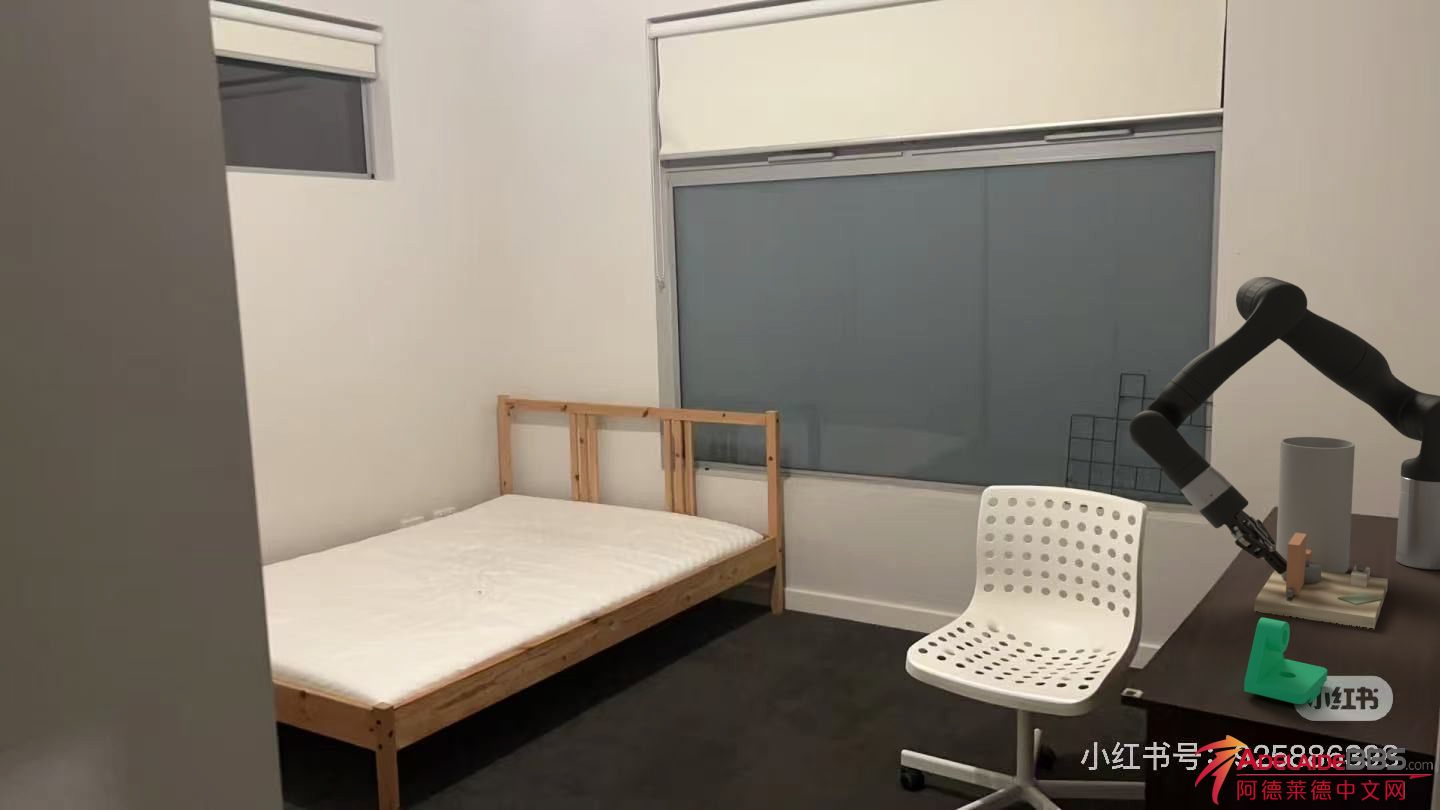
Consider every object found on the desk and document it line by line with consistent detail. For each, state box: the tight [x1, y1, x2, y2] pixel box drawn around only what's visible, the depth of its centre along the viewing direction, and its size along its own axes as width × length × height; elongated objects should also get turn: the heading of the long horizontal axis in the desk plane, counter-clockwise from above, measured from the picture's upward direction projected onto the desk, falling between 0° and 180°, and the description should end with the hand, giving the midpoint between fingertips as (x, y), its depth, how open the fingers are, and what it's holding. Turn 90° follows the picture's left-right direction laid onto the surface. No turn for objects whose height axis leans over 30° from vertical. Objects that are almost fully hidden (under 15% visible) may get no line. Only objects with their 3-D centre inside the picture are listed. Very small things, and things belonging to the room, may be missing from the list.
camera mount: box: [1243, 616, 1328, 705], centre depth 156 cm, size 12×8×10 cm, turn 136°
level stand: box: [1253, 561, 1389, 630], centre depth 193 cm, size 24×18×6 cm
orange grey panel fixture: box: [1281, 533, 1322, 598], centre depth 195 cm, size 19×6×9 cm, turn 144°
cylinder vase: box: [1275, 436, 1356, 574], centre depth 210 cm, size 12×12×25 cm
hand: (1285, 570), depth 194 cm, fingers closed
